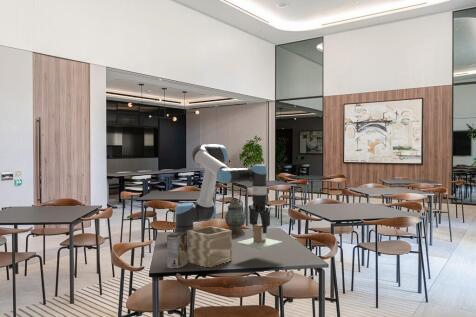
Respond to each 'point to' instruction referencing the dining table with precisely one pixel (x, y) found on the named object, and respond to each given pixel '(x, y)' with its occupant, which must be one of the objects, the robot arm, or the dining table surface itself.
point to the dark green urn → (235, 217)
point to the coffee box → (176, 250)
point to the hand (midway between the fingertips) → (259, 238)
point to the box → (209, 246)
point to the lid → (259, 240)
